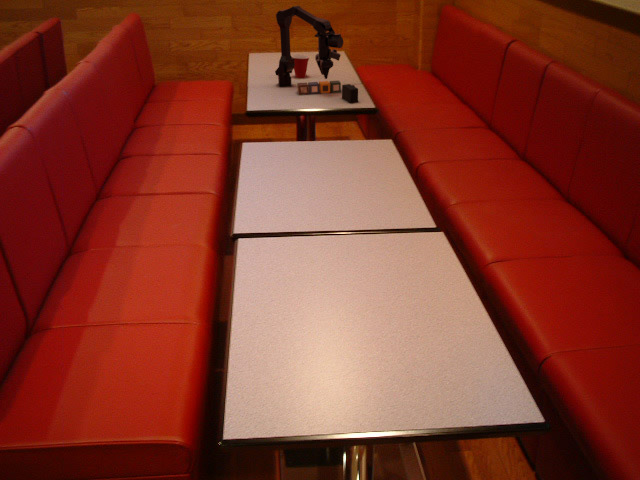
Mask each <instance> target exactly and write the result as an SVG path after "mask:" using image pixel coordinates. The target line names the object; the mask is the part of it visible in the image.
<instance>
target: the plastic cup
mask: <svg viewBox="0 0 640 480" xmlns="http://www.w3.org/2000/svg"><path fill="white" fill-rule="evenodd" d="M291 57H292V58H294V59H295V66H294V69H293V71H294V76H295V78H296V79H303V78H304V79H305V78H306V76H307V70H308V63H309V59H310V56H309V55H304V54H291Z"/></svg>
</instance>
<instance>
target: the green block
mask: <svg viewBox="0 0 640 480" xmlns="http://www.w3.org/2000/svg"><path fill="white" fill-rule="evenodd" d="M329 83H330V93H332V94H333V93H342V83H341V81H340V80H338V79H337V80H329Z"/></svg>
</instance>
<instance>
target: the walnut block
mask: <svg viewBox="0 0 640 480" xmlns="http://www.w3.org/2000/svg"><path fill="white" fill-rule="evenodd" d="M296 84H297V85H296V86H297V94H298V95H299V96H303V95H309V92H308V82H297V83H296Z"/></svg>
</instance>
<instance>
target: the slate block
mask: <svg viewBox="0 0 640 480" xmlns="http://www.w3.org/2000/svg"><path fill="white" fill-rule="evenodd" d="M307 84H308V94H309V95H319V94H320V91H319V81H309V82H307Z"/></svg>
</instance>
